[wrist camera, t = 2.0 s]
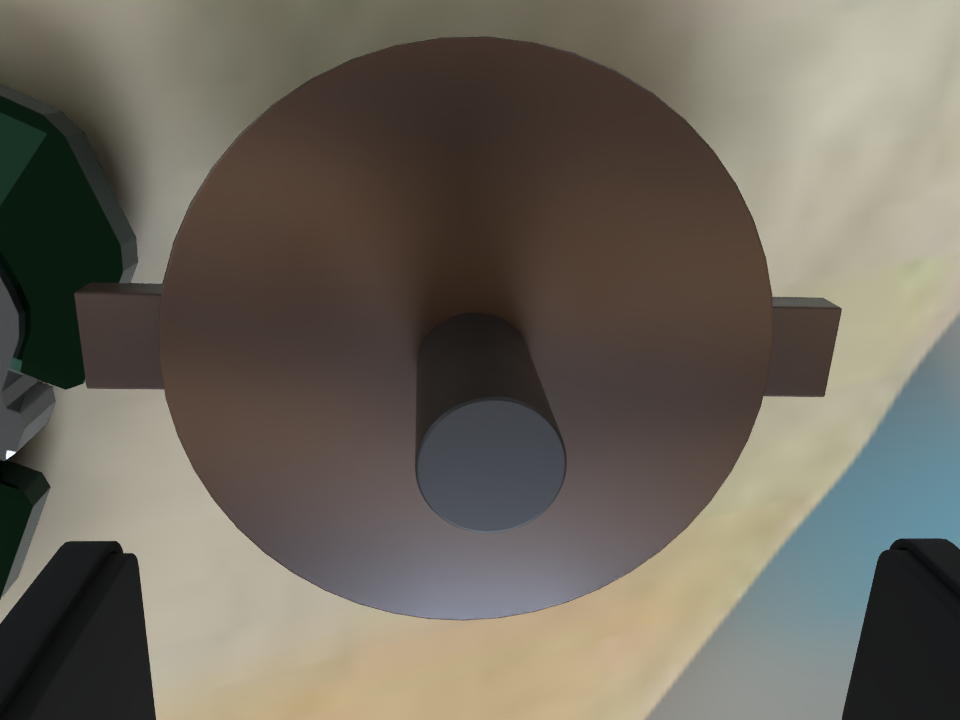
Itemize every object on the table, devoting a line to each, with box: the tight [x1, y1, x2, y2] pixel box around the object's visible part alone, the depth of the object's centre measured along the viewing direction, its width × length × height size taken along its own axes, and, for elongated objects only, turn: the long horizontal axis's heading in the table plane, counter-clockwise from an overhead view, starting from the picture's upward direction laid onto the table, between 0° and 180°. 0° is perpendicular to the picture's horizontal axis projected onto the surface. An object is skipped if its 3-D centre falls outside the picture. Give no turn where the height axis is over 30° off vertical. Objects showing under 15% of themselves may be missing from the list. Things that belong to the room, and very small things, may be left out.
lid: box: [158, 37, 773, 620], centre depth 17 cm, size 14×14×6 cm
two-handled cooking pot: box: [74, 282, 842, 397], centre depth 22 cm, size 13×18×7 cm
